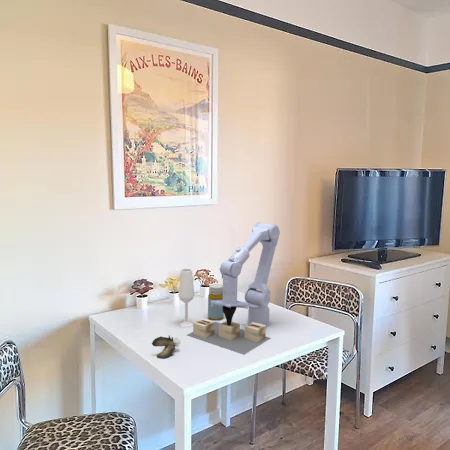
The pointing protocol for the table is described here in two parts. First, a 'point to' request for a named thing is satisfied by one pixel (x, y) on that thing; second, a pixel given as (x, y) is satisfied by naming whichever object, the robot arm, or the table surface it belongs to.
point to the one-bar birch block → (255, 332)
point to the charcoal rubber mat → (231, 341)
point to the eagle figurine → (166, 345)
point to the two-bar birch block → (203, 328)
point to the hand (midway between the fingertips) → (229, 324)
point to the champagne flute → (186, 292)
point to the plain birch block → (229, 330)
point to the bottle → (215, 294)
